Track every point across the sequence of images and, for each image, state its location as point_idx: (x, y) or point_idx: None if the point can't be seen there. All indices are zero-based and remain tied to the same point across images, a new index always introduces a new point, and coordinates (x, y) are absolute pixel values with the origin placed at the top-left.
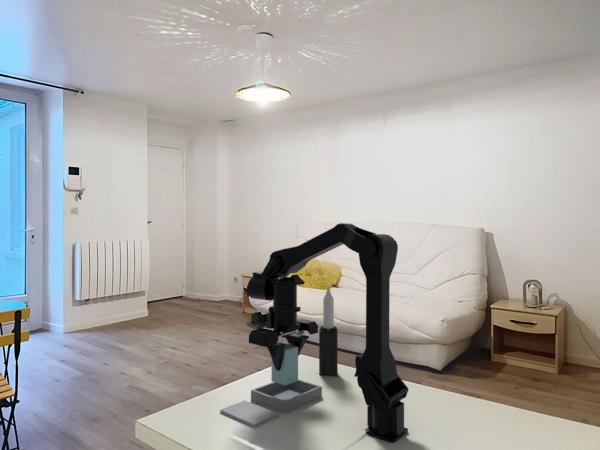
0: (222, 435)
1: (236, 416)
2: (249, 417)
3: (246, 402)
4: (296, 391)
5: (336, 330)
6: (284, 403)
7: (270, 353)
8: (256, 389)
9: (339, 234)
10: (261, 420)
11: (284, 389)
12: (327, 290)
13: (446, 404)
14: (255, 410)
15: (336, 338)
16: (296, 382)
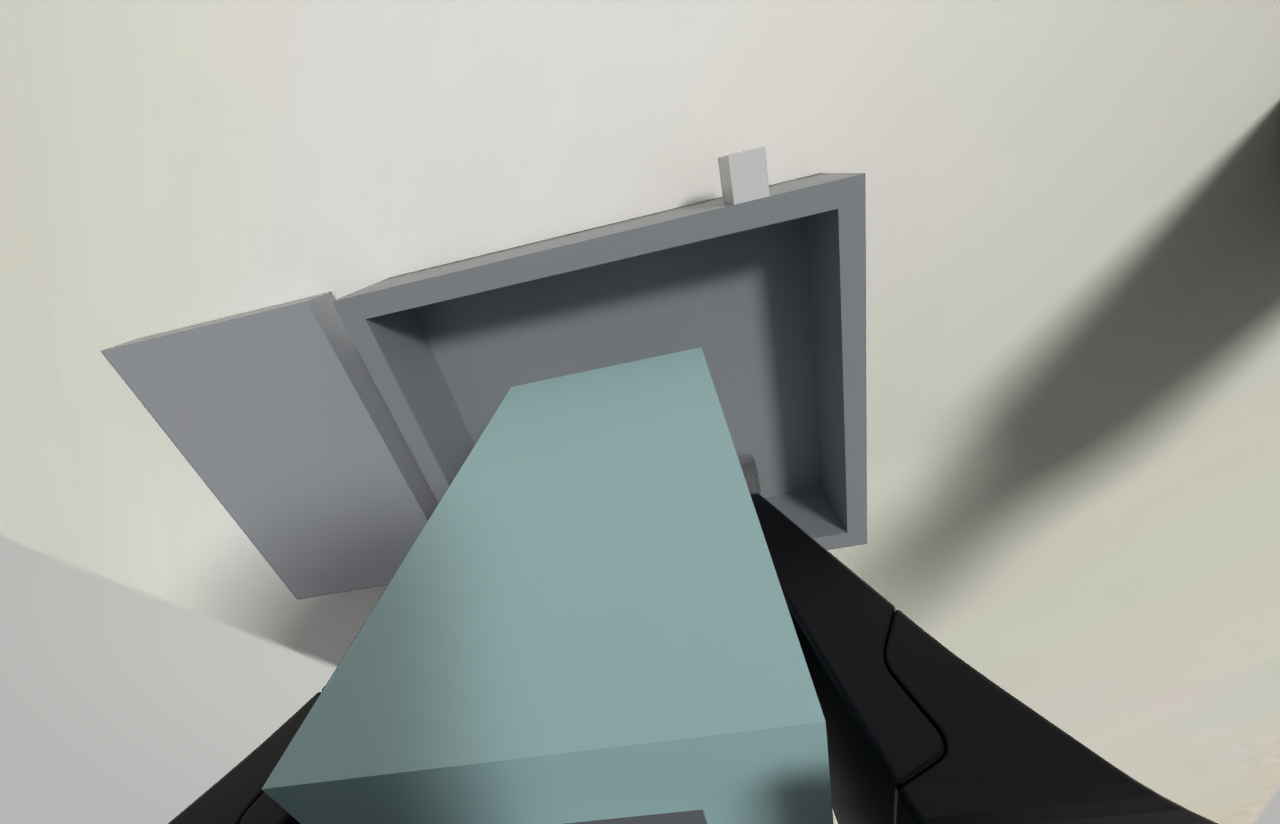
0: (155, 541)
1: (212, 489)
2: (287, 534)
3: (314, 345)
4: (778, 337)
5: None
6: None
7: (256, 768)
8: (388, 313)
9: None
10: (343, 586)
11: (734, 237)
12: None
13: (1147, 767)
14: (344, 482)
15: None
16: (832, 314)
